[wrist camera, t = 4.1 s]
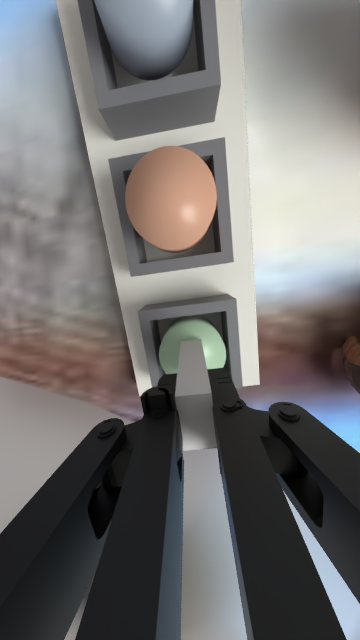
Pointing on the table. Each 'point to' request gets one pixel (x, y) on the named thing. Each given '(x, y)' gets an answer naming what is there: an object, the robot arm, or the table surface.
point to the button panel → (184, 131)
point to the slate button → (147, 34)
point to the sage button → (191, 330)
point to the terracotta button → (171, 198)
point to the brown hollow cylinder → (352, 361)
